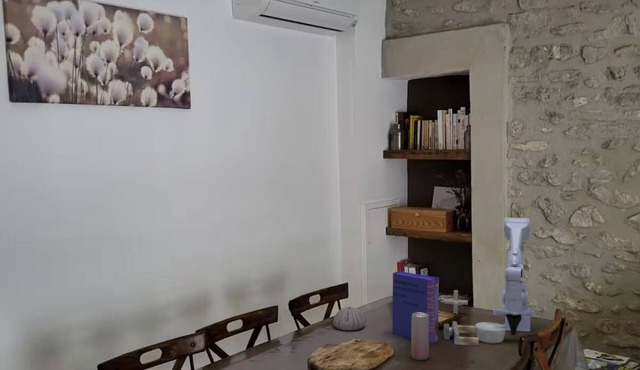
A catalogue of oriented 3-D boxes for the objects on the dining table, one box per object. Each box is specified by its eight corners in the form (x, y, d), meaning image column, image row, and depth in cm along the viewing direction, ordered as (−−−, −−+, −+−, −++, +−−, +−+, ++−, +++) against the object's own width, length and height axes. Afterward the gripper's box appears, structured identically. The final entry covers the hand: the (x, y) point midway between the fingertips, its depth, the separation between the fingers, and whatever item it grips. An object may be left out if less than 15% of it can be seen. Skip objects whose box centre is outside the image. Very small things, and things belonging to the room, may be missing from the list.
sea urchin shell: (373, 328, 245) (373, 308, 244) (346, 334, 237) (347, 314, 236) (351, 320, 255) (351, 301, 255) (325, 326, 247) (325, 306, 247)
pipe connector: (467, 317, 260) (468, 294, 259) (443, 316, 262) (444, 292, 261) (467, 311, 269) (467, 288, 269) (443, 309, 271) (444, 287, 271)
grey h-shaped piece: (456, 331, 240) (456, 320, 240) (458, 344, 224) (459, 332, 224) (443, 330, 241) (443, 319, 241) (444, 343, 225) (445, 332, 225)
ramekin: (506, 337, 234) (506, 323, 233) (505, 346, 223) (505, 331, 223) (476, 334, 237) (476, 320, 237) (473, 342, 227) (473, 328, 226)
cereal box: (437, 340, 229) (438, 277, 227) (430, 344, 225) (431, 279, 224) (399, 331, 241) (400, 270, 239) (392, 333, 237) (392, 272, 235)
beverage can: (409, 354, 214) (409, 312, 213) (426, 354, 214) (426, 312, 213) (413, 360, 208) (413, 317, 207) (430, 360, 208) (431, 316, 207)
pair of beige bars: (474, 332, 239) (474, 326, 239) (478, 345, 223) (478, 339, 223) (456, 331, 240) (456, 325, 240) (458, 344, 224) (458, 337, 224)
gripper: (494, 300, 225) (494, 336, 226) (536, 301, 223) (535, 338, 224) (492, 295, 232) (492, 330, 233) (532, 297, 230) (531, 332, 231)
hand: (513, 334), depth 229 cm, fingers closed
